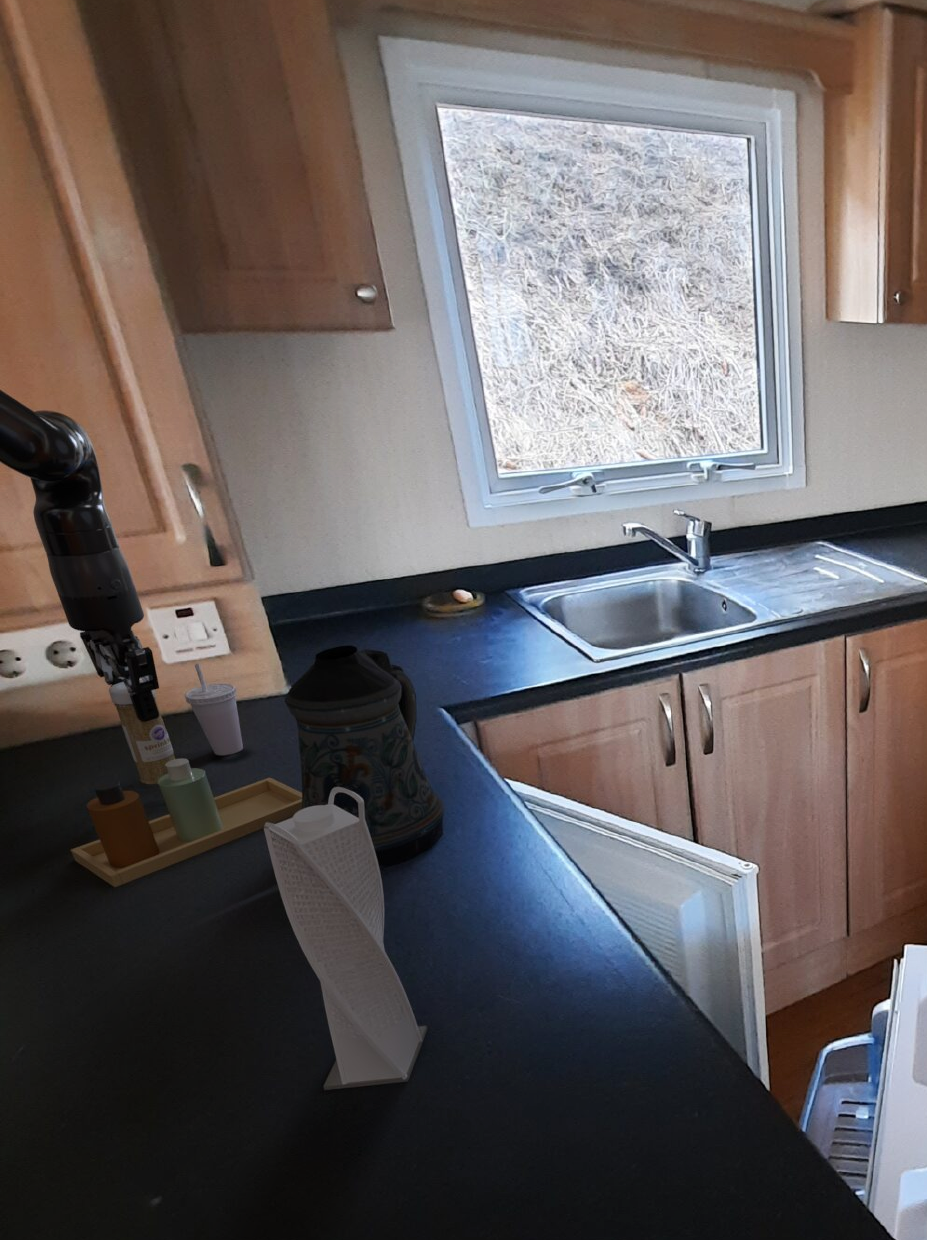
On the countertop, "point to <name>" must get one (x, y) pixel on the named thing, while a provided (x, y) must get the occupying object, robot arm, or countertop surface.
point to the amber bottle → (121, 825)
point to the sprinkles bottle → (143, 737)
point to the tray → (239, 818)
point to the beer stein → (366, 749)
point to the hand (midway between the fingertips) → (139, 714)
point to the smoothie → (217, 714)
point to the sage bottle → (189, 801)
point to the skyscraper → (346, 940)
